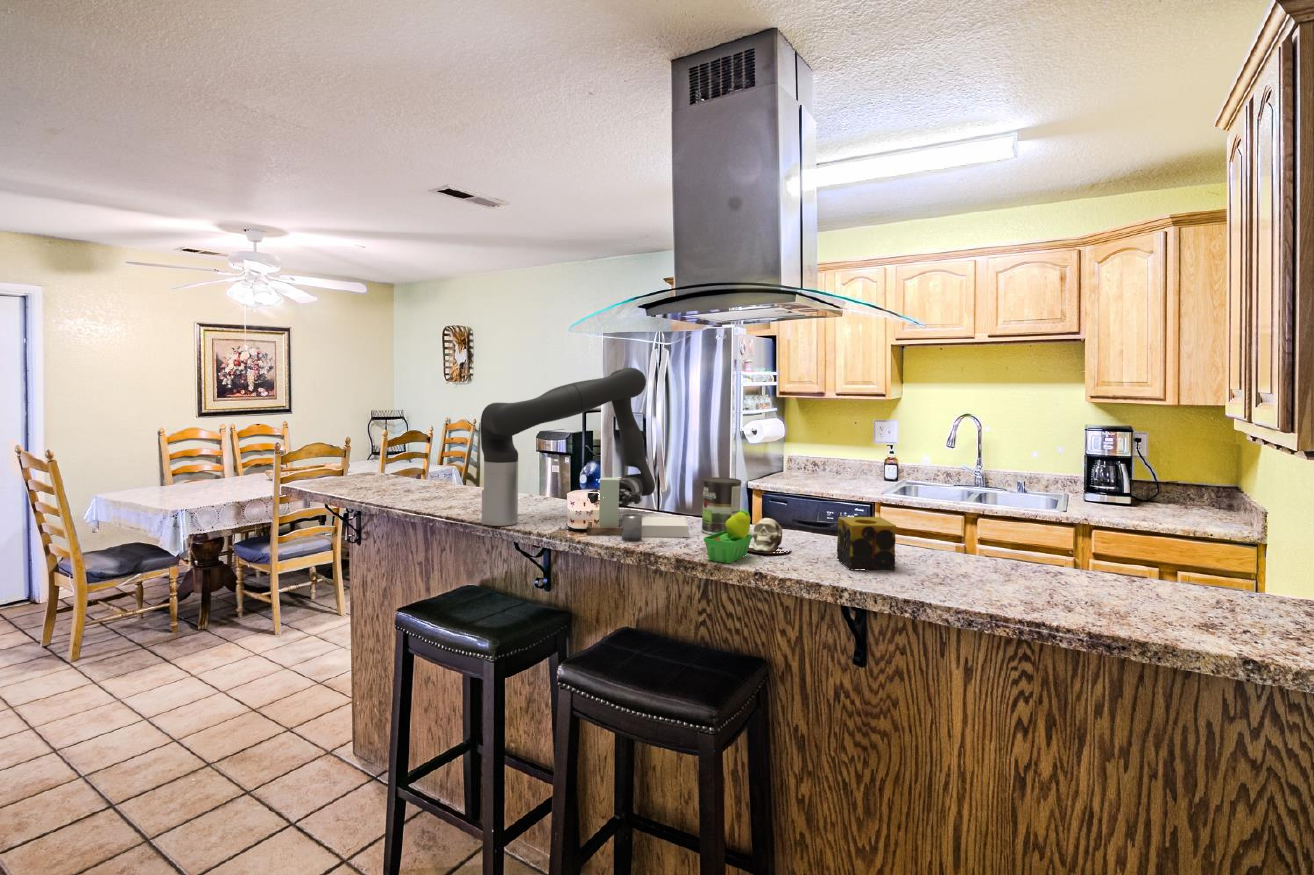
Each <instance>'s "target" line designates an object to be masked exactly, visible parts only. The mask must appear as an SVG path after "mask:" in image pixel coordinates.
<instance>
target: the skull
mask: <svg viewBox="0 0 1314 875" xmlns="http://www.w3.org/2000/svg"><path fill="white" fill-rule="evenodd" d="M752 535H753V537H752V539H753V544H752V545H753V548H748V551H749V552H753V553H759V554H774V555H775V554H780V553H779V552H780V551H776V550H777V549H778V548H779V546H780V545H781V544H782V540H783V528H782V526H781V525H780V524H779V523H778V521H776V520H775V519H773V518H769V517H764V518H761V519H759V521H758V522H756V524H755V525H754V527H753V533H752ZM748 551H747V552H748ZM773 552H775V553H773ZM777 552H778V553H777ZM781 552H784V551H781ZM786 552H788V551H786ZM791 552H792V550H791V551H789V553H791Z"/></svg>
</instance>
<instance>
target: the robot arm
mask: <svg viewBox="0 0 1314 875" xmlns="http://www.w3.org/2000/svg"><path fill="white" fill-rule="evenodd" d="M646 385H647V379H646V376H645V374H644V373H643V372H642V371H641V370H639V369H638V368H635V367H625V368H621V369H618V370H615V371H613V372H611V373H610V375H608V376H605V377H601V378H600V377H599V378H594V379H593V378H592V379H587V380H582V381H576V382H571V383H567V384H564V385H560V386H557V387H553V388H552V389H550V390H548V391H546V392H544V393H543V394H541V395H538V396H536V397H535V398H532V399H526V400H521V401H517V402H492V403H489V404H488V405H486V406H485V408H484V409H483V410H482V412H481V416H480V447H481V452H482V454H483V489H482V490H481V525H483V526H484V525H487V526H494V527H501V526H502V527H503V526H505V527H506V526H513V525H516V524H518V523H519V522H518V521H519V520H518V519H519V518H518V517H519V513H518V512H519V452H518V450H517V449H516V447H515V444H514V440H513V436H515V435H517V434H520V433H522V432H524V431H527V430H528V429H531V428H533V427H536V426H538V425H542V424H545V423H550V422H556V421H559V420H564V419H567V418H571V417H574V416H577V415H581V414H582V413H583V414H584V413H585V412H588V411H591V410H593V409H596V408H598V407H600V406H603V405H605V404H607V403H609V402H611V405H612V408H613V412H614V415H615V419H616V424H617V427H618V432H619V436H620V438H619V439H620V445H621V455H622V463H623V465H624V466H626V467H629V468H630V467H631V468H636V469H638V471H639V473H631V474H625V475H623V476H622V477H621V478H619V509H620V508H625V507H627V506H629V505H632V503H633V504H634V505H639V504H640V503H642V501H643V497H646V496H651V495H652V494H653V493H654V492H655V489H656V483H655V482H656V481H655V480H654V477H653V475H652V473H651V470H650V467H649V464H648V460H647V458H646V456H647V455H646V448H645V441H644V436H643V434H642V431H641V428H640V427H639V425H638V423H637V421H636V418H635V416H634V413H633V408H632V399H633V398H637V397H638V396H640V394H642V393H643V392H644V390H645V389H646ZM588 492H599V493H600V490H599V489H597V488H596V489H593V490H589V491H588ZM588 492H587V499H588V498H589V499H590V504H596V503H599V501H600V500H598V499H599V497H598V495H599V494H598V493H588Z"/></svg>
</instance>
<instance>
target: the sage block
mask: <svg viewBox="0 0 1314 875" xmlns="http://www.w3.org/2000/svg"><path fill="white" fill-rule="evenodd" d="M619 480H620V477H600V478H599V491H600V497H599V498H600V501H599V502H598V503H599V504H598V505H599V506H598V507H599V511H598V514H599V515H598V527H619V522H620V520H619V517H620V516H619V515H620V514H619V511H620V508H619ZM603 497H604V498H603Z"/></svg>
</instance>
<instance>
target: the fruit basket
mask: <svg viewBox="0 0 1314 875" xmlns="http://www.w3.org/2000/svg"><path fill="white" fill-rule="evenodd" d="M725 526H726V529H727V531H721V532H719V533H716V534H713V535H711V534H709V535H708V536H704V537H703V541H704V543H705V547H706V551H707V556H708V560H709V561H711V560H714V561H713V562H718V561H719V562H720V563H725V562H726V563H727V564H732V563H733V562H736V561H738V560H740V558H741V559H742V558H744V557H743V556H745V555H746V556H747V554H748V548H749V545H751V542H752V541H751V540H752V539H753V533H750V529H751V516H750V513H749V512H748V511H747V510H745V509H740V511H739V512H738V513H737V514H735V515H734V516H732V517H730V519H728V520H727V521H726V523H725ZM746 556H745V557H746ZM737 559H738V560H737ZM735 560H736V561H735Z"/></svg>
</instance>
